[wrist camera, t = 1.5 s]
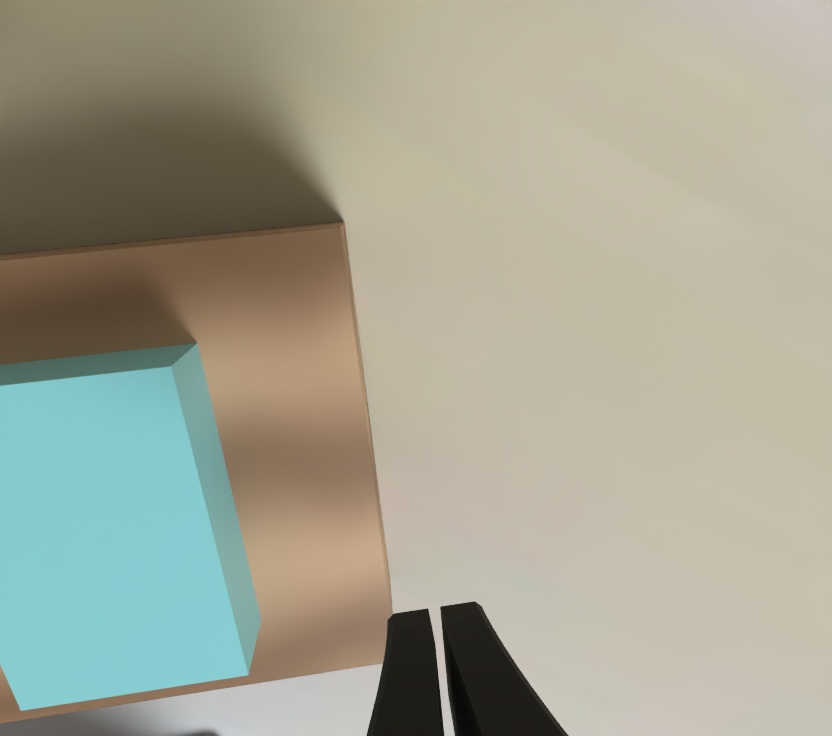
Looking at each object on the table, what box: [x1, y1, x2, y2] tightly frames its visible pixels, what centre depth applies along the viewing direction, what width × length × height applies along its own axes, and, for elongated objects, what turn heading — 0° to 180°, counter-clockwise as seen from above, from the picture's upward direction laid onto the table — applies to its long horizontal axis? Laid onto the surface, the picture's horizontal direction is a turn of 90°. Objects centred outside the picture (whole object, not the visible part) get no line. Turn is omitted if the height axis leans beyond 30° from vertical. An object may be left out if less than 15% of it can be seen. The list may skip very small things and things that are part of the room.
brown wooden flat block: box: [0, 222, 393, 724], centre depth 16 cm, size 14×16×4 cm
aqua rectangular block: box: [0, 343, 261, 711], centre depth 14 cm, size 9×6×2 cm, turn 5°
